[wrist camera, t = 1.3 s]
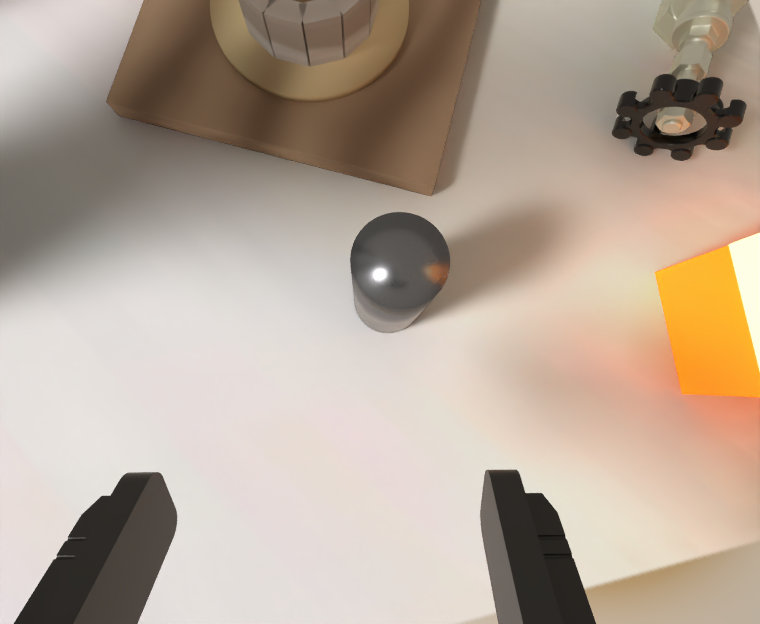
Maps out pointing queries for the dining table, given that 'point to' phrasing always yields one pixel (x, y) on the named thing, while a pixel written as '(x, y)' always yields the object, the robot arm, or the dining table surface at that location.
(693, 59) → the valve
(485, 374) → the dining table surface
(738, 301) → the orange juice
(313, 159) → the socket fitting
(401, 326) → the grey metal cylinder
